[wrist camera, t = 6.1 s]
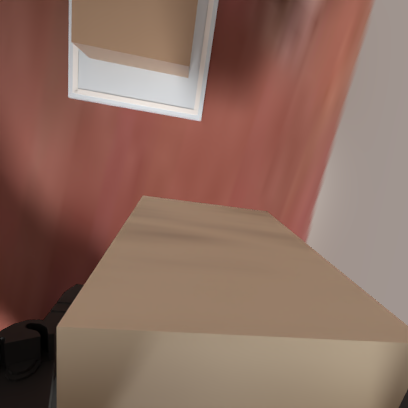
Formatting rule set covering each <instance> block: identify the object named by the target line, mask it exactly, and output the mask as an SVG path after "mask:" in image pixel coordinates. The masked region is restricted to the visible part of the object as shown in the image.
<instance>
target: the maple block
mask: <svg viewBox="0 0 408 408" xmlns="http://www.w3.org/2000/svg"><path fill="white" fill-rule="evenodd" d="M407 390H408V326H407V325H406V324H405V323H404V322H402V321H401V320H400V319H399V318H397V317H396V316H395V315H394V314H392V313H391V312H390V311H389V310H387V309H386V308H385V307H384V306H383V305H381V304H380V303H379V302H377V301H376V300H375V299H374V298H373V297H372V296H370V295H369V294H368V293H366V292H365V291H364V290H363V289H362V288H360V287H359V286H358V285H357V284H355V283H354V282H353V281H352V280H350V279H349V278H348V277H347V276H346V275H344V274H343V273H342V272H341V271H339V270H338V269H337V268H336V267H335V266H333V265H332V264H331V263H330V262H328V261H327V260H326V259H325V258H323V257H322V256H321V255H320V254H319V253H317V252H316V251H315V250H314V249H312V248H311V247H310V246H309V245H307V244H306V243H305V242H304V241H302V240H301V239H300V238H299V237H298V236H296V235H295V234H294V233H293V232H291V231H290V230H289V229H288V228H286V227H285V226H284V225H283V224H282V223H280V222H279V221H278V220H277V219H275V218H274V217H273V216H272V215H270V214H269V213H268V212H267V211H259V210H251V209H244V208H236V207H228V206H220V205H212V204H204V203H196V202H189V201H181V200H173V199H165V198H157V197H149V196H143V197H142V198H141V200H140V201H139V203H138V204H137V206H136V207H135V209H134V210H133V212H132V213H131V215H130V216H129V218H128V219H127V221H126V222H125V224H124V225H123V227H122V228H121V230H120V231H119V233H118V234H117V236H116V237H115V239H114V240H113V242H112V243H111V245H110V246H109V248H108V250H107V251H106V253H105V254H104V256H103V257H102V259H101V260H100V262H99V263H98V265H97V266H96V268H95V269H94V271H93V272H92V274H91V275H90V277H89V278H88V280H87V281H86V283H85V284H84V286H83V287H82V289H81V290H80V292H79V293H78V295H77V296H76V298H75V299H74V301H73V302H72V304H71V306H70V307H69V309H68V310H67V312H66V313H65V315H64V316H63V318H62V319H61V321H60V322H59V324H58V325H57V408H399V406H400V404H401V402H402V400H403V398H404V396H405V394H406V392H407Z"/></svg>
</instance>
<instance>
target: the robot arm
mask: <svg viewBox="0 0 408 408" xmlns="http://www.w3.org/2000/svg"><path fill="white" fill-rule="evenodd" d="M83 286H84V285H79V284H76V285H75V286H73V287H72V288H70V289H69V290H67V291H66V292H64V294H63V295H62V296H61V298H60V299H59V300H58V302H57V304H55V306H54V307H53V308H52V309H51V312H50V313H48V315H47V316H46V317H45V319H44V320H26V321H23V322H19V323H15V324H13V325H11V326H9V327H7V328H5V329H3V330H2V331H0V408H57V325H58V324H59V322H60V321H61V319H62V318H63V316H64V315H65V313H66V312H67V310H68V309H69V307H70V306H71V304H72V302H73V301H74V299H75V298H76V296H77V295H78V293H79V292H80V290H81V289H82V287H83ZM399 408H408V390H407V392H406V394H405V396H404V398H403V400H402V402H401V404H400V406H399Z"/></svg>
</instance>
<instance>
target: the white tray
mask: <svg viewBox="0 0 408 408" xmlns="http://www.w3.org/2000/svg"><path fill="white" fill-rule="evenodd" d="M218 1H219V0H69V55H68V97H69V98H72V99H77V100H83V101H89V102H94V103H100V104H106V105H111V106H117V107H122V108H128V109H134V110H139V111H145V112H151V113H156V114H162V115H168V116H173V117H179V118H185V119H190V120H196V121H201V117H202V110H203V103H204V96H205V90H206V83H207V76H208V69H209V62H210V55H211V49H212V42H213V35H214V28H215V21H216V15H217V8H218Z"/></svg>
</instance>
